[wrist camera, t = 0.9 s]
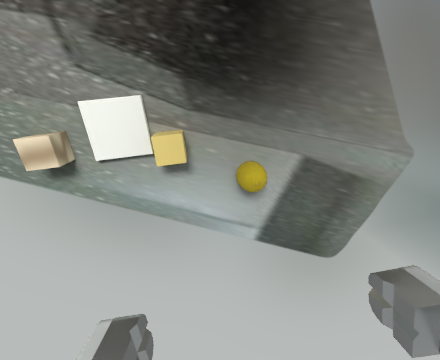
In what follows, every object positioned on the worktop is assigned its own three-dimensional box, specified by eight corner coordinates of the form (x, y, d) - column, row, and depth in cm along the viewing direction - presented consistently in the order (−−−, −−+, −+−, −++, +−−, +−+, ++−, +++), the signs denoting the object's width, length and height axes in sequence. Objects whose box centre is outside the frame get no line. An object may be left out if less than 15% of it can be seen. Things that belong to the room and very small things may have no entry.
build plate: (81, 101, 36) (77, 101, 35) (141, 95, 37) (140, 95, 35) (98, 159, 39) (96, 160, 38) (153, 152, 40) (152, 153, 39)
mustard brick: (155, 132, 39) (150, 137, 34) (182, 129, 40) (181, 133, 35) (160, 159, 41) (157, 166, 36) (186, 155, 41) (186, 162, 37)
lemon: (238, 186, 45) (248, 203, 37) (229, 163, 43) (237, 176, 35) (262, 176, 45) (277, 191, 37) (254, 152, 43) (267, 163, 35)
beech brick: (35, 134, 37) (12, 139, 32) (65, 131, 37) (47, 135, 32) (46, 162, 38) (26, 171, 34) (75, 159, 39) (59, 166, 34)
